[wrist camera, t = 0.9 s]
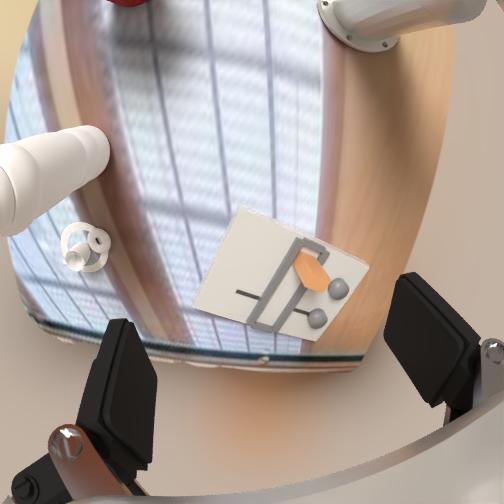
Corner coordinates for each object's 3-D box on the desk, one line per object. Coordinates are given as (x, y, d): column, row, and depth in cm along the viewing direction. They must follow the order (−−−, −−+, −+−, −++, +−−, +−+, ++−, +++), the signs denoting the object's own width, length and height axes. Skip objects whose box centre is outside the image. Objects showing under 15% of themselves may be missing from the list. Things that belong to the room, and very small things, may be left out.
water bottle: (121, 161, 31) (-8, 256, 9) (79, 188, 32) (-46, 301, 10) (97, 114, 28) (-60, 143, 6) (56, 144, 29) (-92, 213, 7)
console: (239, 203, 36) (242, 212, 33) (364, 260, 43) (374, 271, 40) (193, 299, 42) (192, 313, 39) (312, 334, 49) (318, 347, 46)
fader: (299, 250, 38) (313, 273, 33) (315, 257, 39) (331, 280, 34) (291, 262, 39) (304, 286, 34) (308, 268, 40) (322, 293, 35)
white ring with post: (112, 221, 35) (102, 233, 32) (117, 272, 39) (109, 288, 35) (58, 220, 34) (45, 231, 30) (66, 269, 37) (56, 283, 34)
